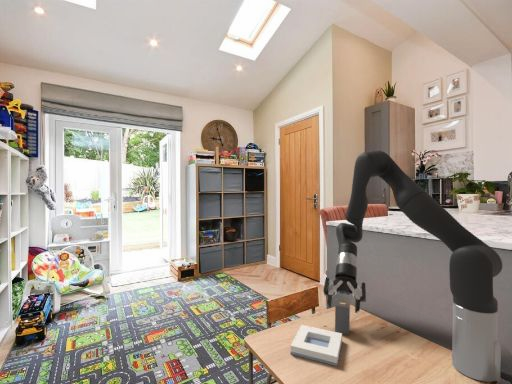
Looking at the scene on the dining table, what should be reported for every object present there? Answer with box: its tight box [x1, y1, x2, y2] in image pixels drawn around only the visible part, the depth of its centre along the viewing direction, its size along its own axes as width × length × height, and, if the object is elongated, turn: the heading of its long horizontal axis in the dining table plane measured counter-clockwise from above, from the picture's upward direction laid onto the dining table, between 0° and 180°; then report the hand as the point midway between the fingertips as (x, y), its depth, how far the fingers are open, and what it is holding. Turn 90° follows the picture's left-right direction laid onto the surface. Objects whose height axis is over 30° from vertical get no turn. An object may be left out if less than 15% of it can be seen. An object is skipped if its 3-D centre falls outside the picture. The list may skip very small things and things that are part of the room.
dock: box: [290, 324, 343, 367], centre depth 81 cm, size 13×13×2 cm
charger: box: [334, 301, 351, 336], centre depth 90 cm, size 4×4×9 cm
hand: (343, 309), depth 91 cm, fingers open, 8 cm apart
